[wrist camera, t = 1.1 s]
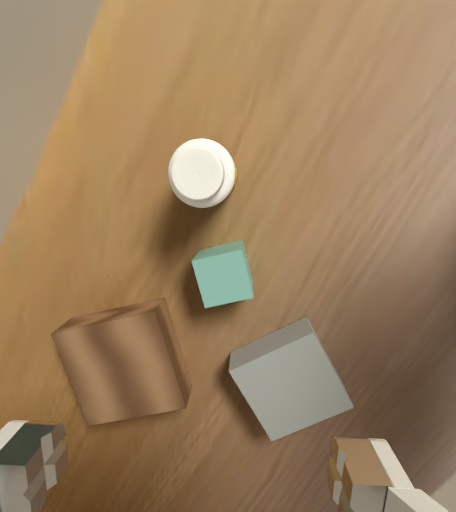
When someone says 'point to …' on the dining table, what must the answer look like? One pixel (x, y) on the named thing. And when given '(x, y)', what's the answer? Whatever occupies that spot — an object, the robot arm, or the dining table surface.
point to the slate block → (289, 380)
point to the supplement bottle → (202, 173)
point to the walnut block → (124, 362)
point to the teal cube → (223, 274)
